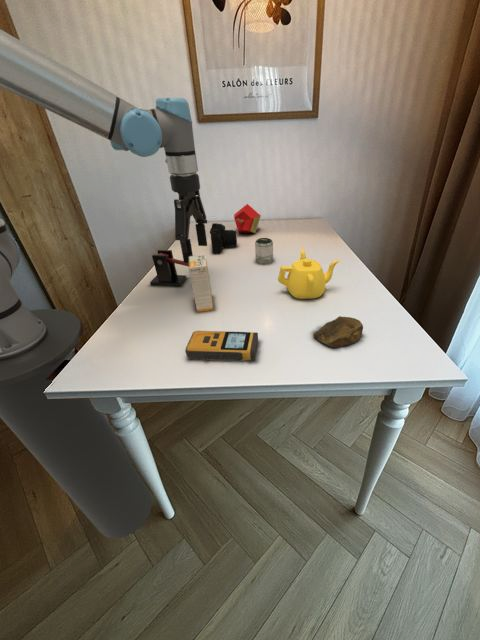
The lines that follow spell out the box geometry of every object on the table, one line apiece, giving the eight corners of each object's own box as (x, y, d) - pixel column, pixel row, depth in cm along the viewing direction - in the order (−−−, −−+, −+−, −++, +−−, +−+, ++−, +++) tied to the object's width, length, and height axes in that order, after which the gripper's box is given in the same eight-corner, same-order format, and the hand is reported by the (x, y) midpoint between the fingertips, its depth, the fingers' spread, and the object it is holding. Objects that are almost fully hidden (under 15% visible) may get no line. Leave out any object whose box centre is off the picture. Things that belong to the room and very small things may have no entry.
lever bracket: (186, 278, 103) (180, 249, 97) (180, 286, 99) (173, 257, 92) (158, 277, 105) (150, 248, 98) (150, 285, 100) (142, 256, 94)
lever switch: (204, 267, 99) (205, 260, 98) (199, 274, 95) (200, 267, 94) (162, 258, 99) (162, 250, 98) (155, 264, 95) (155, 257, 94)
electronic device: (195, 339, 76) (193, 328, 74) (258, 340, 75) (257, 329, 73) (186, 361, 70) (183, 349, 68) (254, 363, 68) (254, 351, 66)
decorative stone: (336, 354, 70) (338, 342, 68) (307, 335, 76) (308, 323, 74) (366, 337, 75) (368, 324, 72) (336, 320, 81) (338, 308, 78)
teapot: (337, 290, 94) (341, 258, 87) (310, 307, 86) (312, 274, 80) (300, 277, 101) (302, 247, 95) (273, 292, 94) (273, 260, 88)
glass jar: (270, 265, 109) (270, 243, 104) (253, 264, 111) (252, 242, 106) (275, 258, 114) (274, 237, 109) (258, 257, 115) (257, 236, 111)
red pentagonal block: (265, 231, 142) (256, 235, 129) (240, 232, 145) (228, 235, 132) (264, 202, 137) (254, 203, 124) (238, 204, 140) (226, 204, 127)
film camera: (235, 253, 119) (233, 229, 113) (210, 254, 119) (207, 230, 113) (237, 240, 131) (235, 217, 125) (214, 241, 131) (212, 218, 125)
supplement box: (214, 310, 87) (207, 265, 78) (196, 312, 86) (188, 267, 78) (212, 296, 93) (205, 253, 85) (195, 298, 92) (187, 255, 84)
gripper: (186, 166, 91) (197, 239, 104) (149, 183, 71) (168, 270, 85) (210, 166, 90) (218, 239, 103) (180, 183, 71) (195, 271, 84)
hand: (196, 253), depth 94 cm, fingers open, 13 cm apart
